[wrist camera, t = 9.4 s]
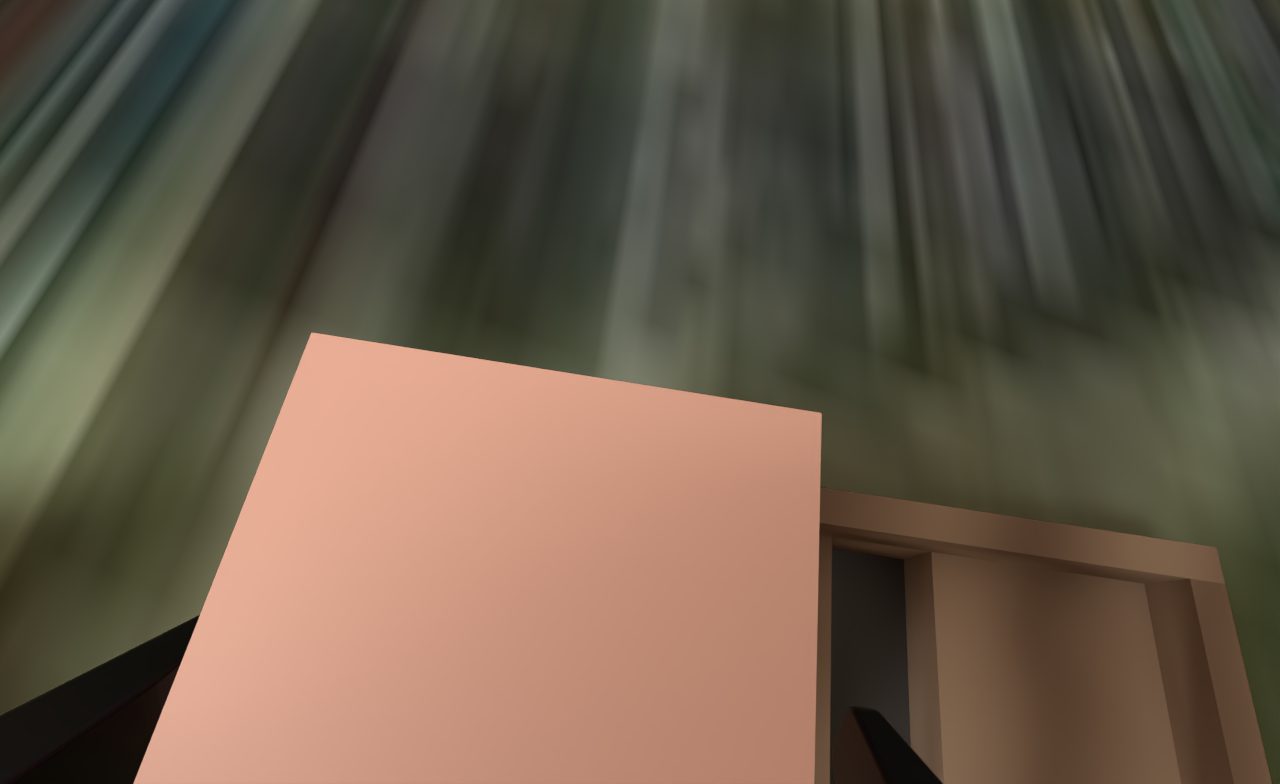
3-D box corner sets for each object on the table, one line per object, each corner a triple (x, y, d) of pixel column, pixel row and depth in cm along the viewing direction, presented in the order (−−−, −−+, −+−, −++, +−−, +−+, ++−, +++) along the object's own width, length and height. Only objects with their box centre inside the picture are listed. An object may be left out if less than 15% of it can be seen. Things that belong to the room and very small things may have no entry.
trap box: (1117, 563, 20) (1216, 547, 17) (1181, 938, 17) (1325, 1009, 13) (464, 464, 20) (441, 429, 17) (371, 828, 16) (317, 874, 13)
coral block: (668, 564, 17) (822, 413, 6) (645, 771, 15) (808, 1112, 4) (490, 537, 17) (311, 331, 6) (443, 742, 15) (44, 1011, 4)
